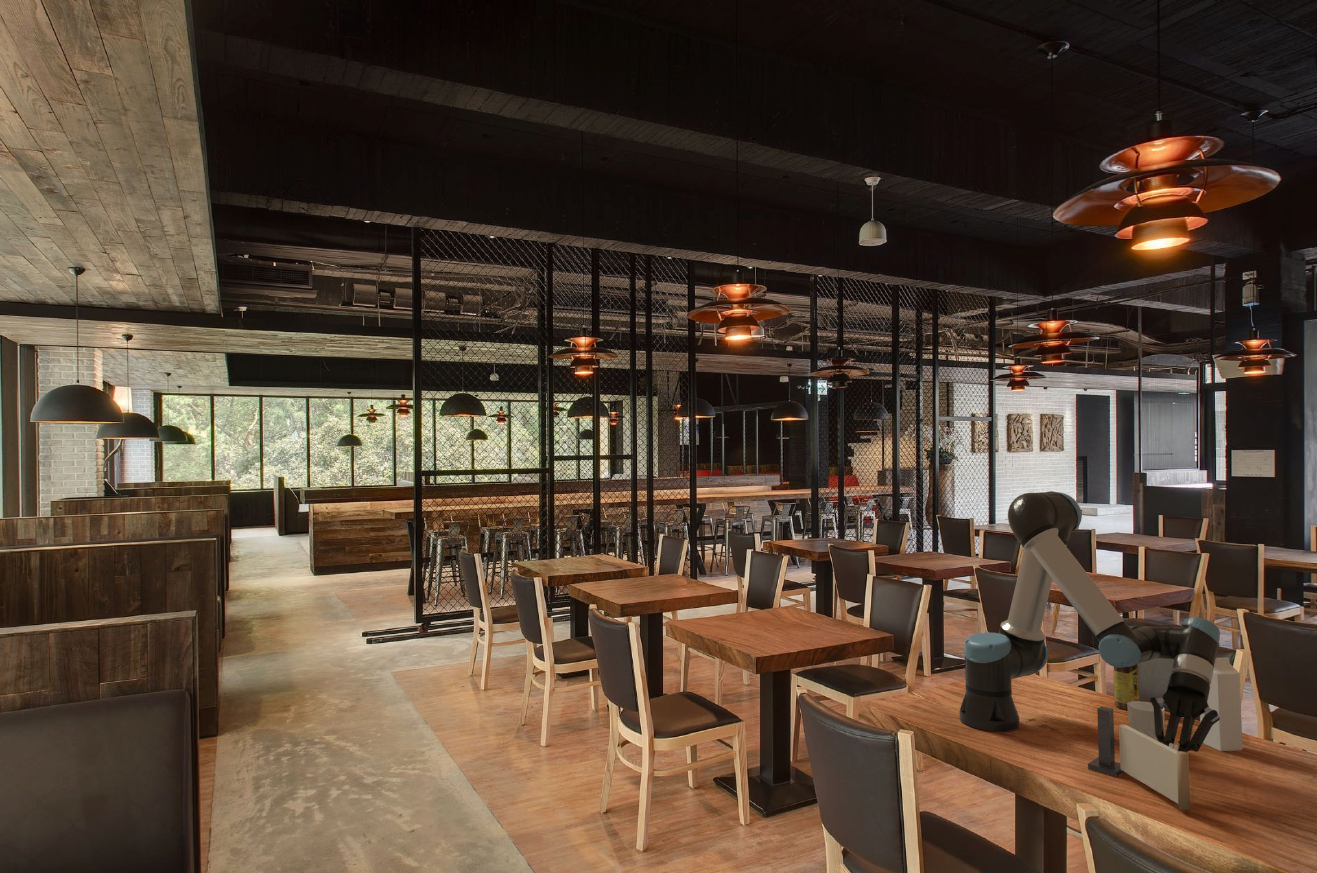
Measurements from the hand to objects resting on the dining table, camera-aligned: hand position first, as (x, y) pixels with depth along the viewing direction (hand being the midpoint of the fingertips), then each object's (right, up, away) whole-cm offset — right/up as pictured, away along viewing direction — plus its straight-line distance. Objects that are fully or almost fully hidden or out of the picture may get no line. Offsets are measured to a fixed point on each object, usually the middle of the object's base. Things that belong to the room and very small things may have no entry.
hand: (1169, 774), depth 157 cm
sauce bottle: (+27, -7, +57) cm, 64 cm away
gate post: (-5, -5, +14) cm, 16 cm away
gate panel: (-2, -4, +2) cm, 5 cm away
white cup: (+14, -6, +28) cm, 32 cm away
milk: (+32, -6, +28) cm, 43 cm away
